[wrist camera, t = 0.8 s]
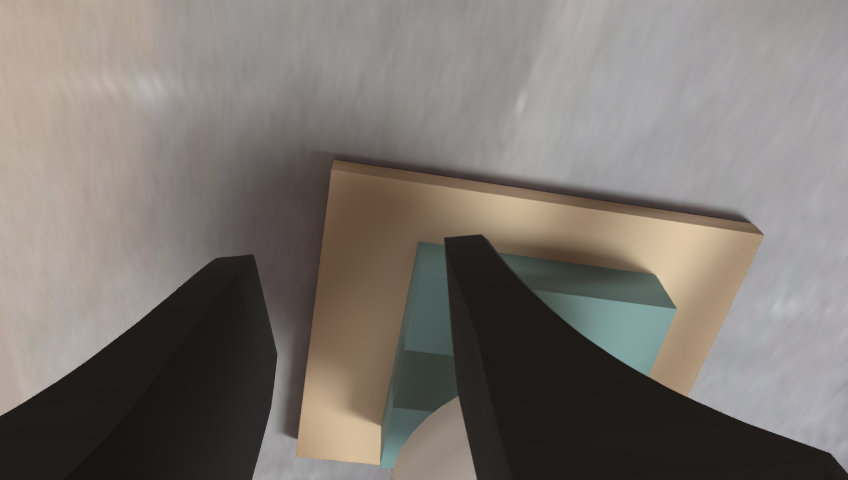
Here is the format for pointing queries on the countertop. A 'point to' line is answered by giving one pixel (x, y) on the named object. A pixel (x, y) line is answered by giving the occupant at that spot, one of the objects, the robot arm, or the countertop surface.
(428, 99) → the countertop surface
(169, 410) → the robot arm
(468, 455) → the disc
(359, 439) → the dispenser base
